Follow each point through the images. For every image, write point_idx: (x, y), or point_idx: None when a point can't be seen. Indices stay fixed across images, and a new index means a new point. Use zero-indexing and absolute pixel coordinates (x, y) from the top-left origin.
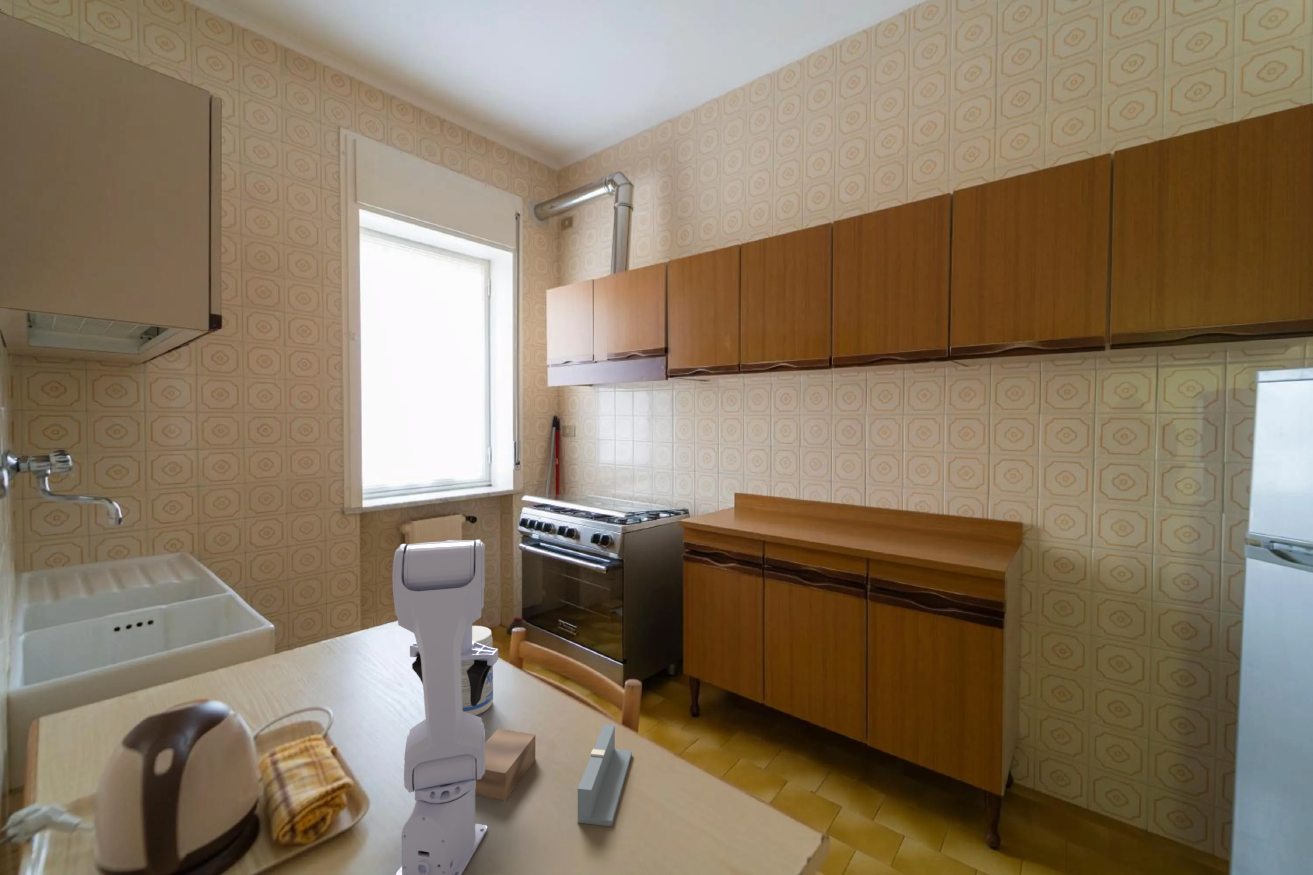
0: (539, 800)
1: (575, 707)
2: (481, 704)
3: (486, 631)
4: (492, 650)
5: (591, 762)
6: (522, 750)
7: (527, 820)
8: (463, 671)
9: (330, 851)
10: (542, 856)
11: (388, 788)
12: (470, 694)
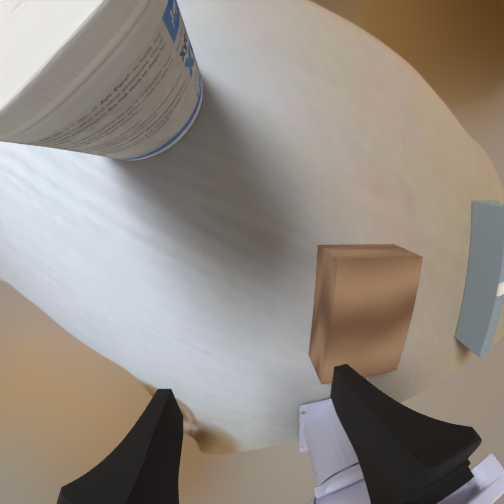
0: (417, 327)
1: (393, 63)
2: (192, 114)
3: None
4: (490, 495)
5: (495, 308)
6: (411, 312)
7: (409, 358)
8: (107, 129)
9: (205, 447)
10: (426, 383)
11: (179, 376)
12: (347, 435)
